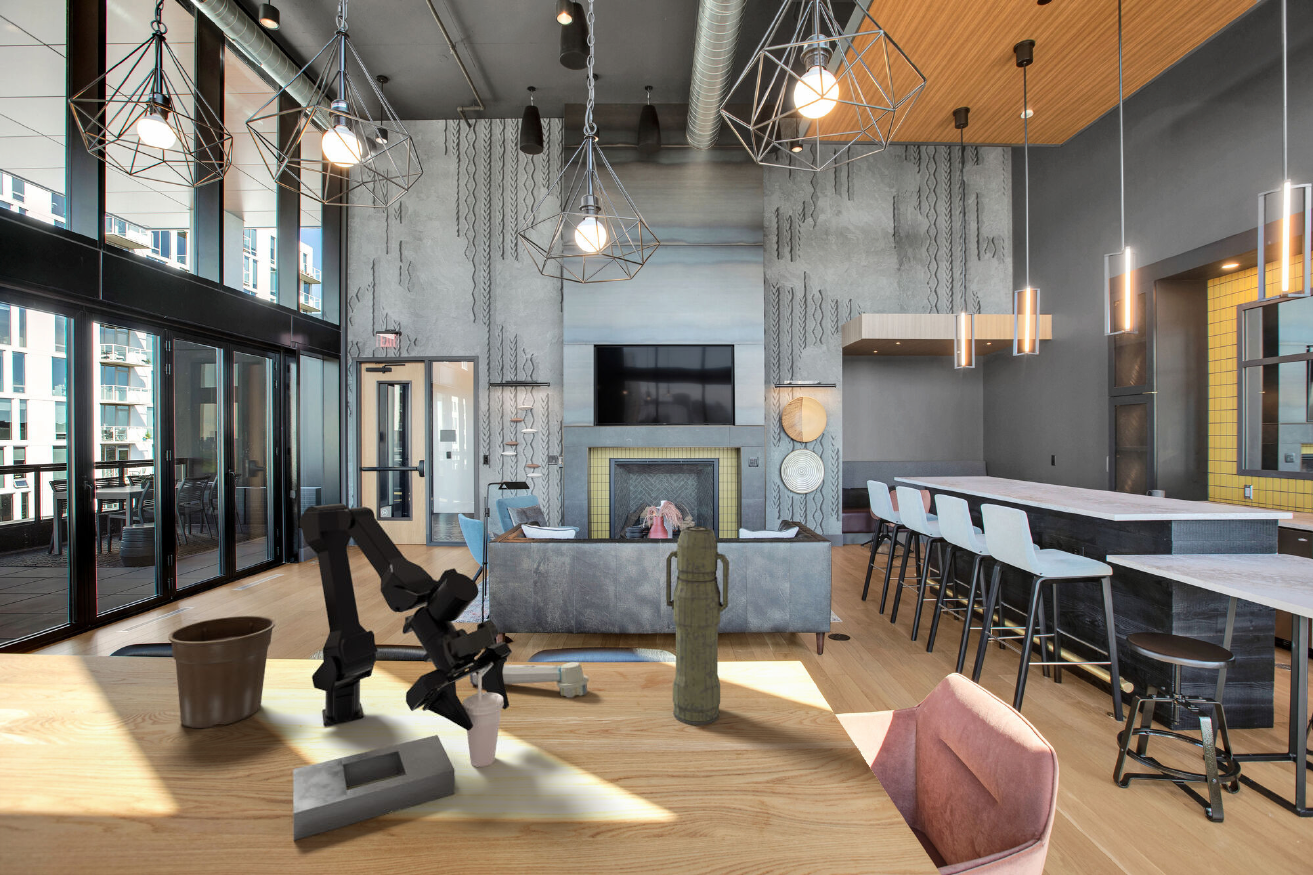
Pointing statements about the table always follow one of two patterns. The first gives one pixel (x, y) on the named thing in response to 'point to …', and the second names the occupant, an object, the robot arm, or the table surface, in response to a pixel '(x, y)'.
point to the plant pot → (221, 668)
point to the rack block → (333, 806)
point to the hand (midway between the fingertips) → (489, 717)
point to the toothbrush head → (546, 677)
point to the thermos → (697, 624)
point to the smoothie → (483, 725)
